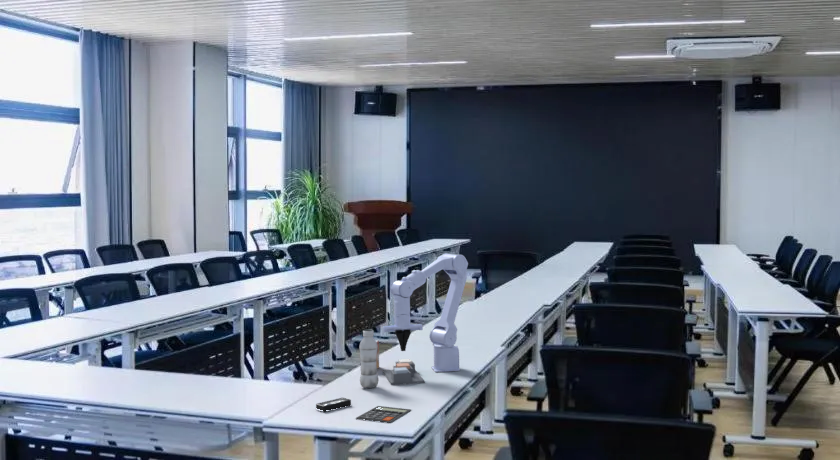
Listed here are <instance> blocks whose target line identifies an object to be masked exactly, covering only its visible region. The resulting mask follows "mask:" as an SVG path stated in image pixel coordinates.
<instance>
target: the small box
mask: <svg viewBox="0 0 840 460" xmlns="http://www.w3.org/2000/svg"><path fill="white" fill-rule="evenodd" d="M375 341H376V342H377V345H378V348H377V360H376V366H377V369H379V368H380V342H379V340H376V339H375ZM359 357H360V358H359V360H360V361H359V362H360V365H359V366H361V355H360V354H359Z"/></svg>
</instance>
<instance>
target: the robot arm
mask: <svg viewBox="0 0 840 460" xmlns="http://www.w3.org/2000/svg"><path fill="white" fill-rule="evenodd" d="M468 265H469V262H468V260H467V259H466V257H465V255H463V254H456V253H454V254H453V253H447V252H445V253H442V255H439V256H438V257H437V259H435V260H434V261H432V262H431V263H430V264H428V265H427V266H426V267H424V268H423V269H422V270H420V269H416V270H415V269H413V270H411V273H409V274H407V276H403V277H402V278H401V279H400V280H395V281H394V282H393V283H392V285H391V288H390V293H391V294H392V297H393V303H394V305H393V306H394V307H393V309H394V310H393V311H394V324H392V325H383V326H382V333H389V332H390V333H391V332H394V335H395V336H396V338H397V340H398V342H399V347H400V351H401V352H406V349H407V345H408V341H409V338H410V336H411V335H412V334H411V331H423V324H422V323H418V324H417V323H416V324H415V323H412V324H411V296H412V295H413V293H414V291H415V290H416V289H418V288H420V287H421V286H423V285H424V284H425V283H427V279H428V278H430V277H431V276H433V275H435V274H437V273H439V272H441V271H442V270H443V271H444V272H445V273H446V274H447V275H448V277H449V278H450V283H449V288H448V290H447V294H446V297H445V301H444V303H443V307H442V312H441V315H440V317H439V318H440V319H439V320H437V321H436V322H434V324H433V325H434V326H433V327H432V329H431V330H430V333H429V340H430V342H431V343H432V346H433V366H431V369H432V370H433V371H434V372H435V373H441V372H457V371H458V372H459V371H461V369H460V349H459V347H458V345H455V344H456V342H457V339H458V338H457V332H458V327H457V325H456V324H455V321H456V318H457V314H458V311H459V307H460V303H461V300H462V295H463V293H464V290H465V286H466V282H467V269H468Z"/></svg>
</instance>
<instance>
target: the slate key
mask: <svg viewBox="0 0 840 460" xmlns="http://www.w3.org/2000/svg"><path fill="white" fill-rule="evenodd" d="M394 373H395V374H399V373H408V369H407V368H406V367H402V368H394Z"/></svg>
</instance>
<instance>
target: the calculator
mask: <svg viewBox="0 0 840 460" xmlns="http://www.w3.org/2000/svg"><path fill="white" fill-rule="evenodd" d="M378 407H381V408H380V409H382V408H383V409H382V410H380V409H376V408H378ZM410 412H412V409H409V408H402V407H400V408H399V407H394V406H393V407H392V406H390V407H389V406H381V405H377V406H375V407H374V408H371V409H369V410H368V411H366V412H364V413H362V414H361V415H359V416H356V417H355V419H356V418H357V419H365V420H364V421H366V420H373V421H372V422H375V421H380V422H379V423H384V422H387V423H386V424H391V423H393V422H395V421H396V420H398V419H400V418H402V417H403V416H405V415H407V414H408V413H410ZM357 419H356V420H357Z"/></svg>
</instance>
